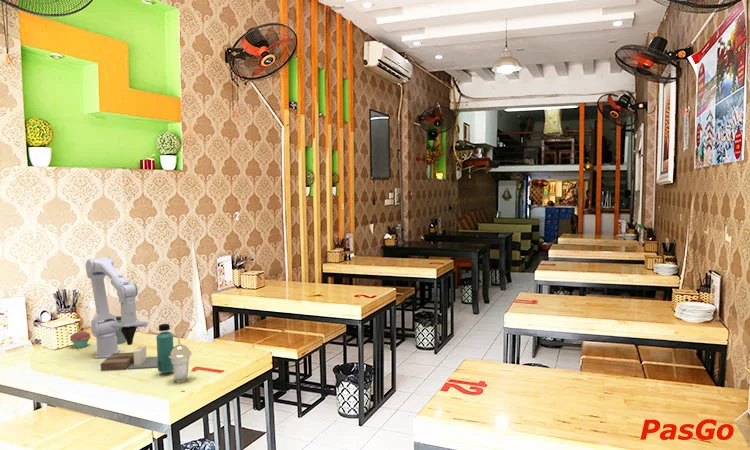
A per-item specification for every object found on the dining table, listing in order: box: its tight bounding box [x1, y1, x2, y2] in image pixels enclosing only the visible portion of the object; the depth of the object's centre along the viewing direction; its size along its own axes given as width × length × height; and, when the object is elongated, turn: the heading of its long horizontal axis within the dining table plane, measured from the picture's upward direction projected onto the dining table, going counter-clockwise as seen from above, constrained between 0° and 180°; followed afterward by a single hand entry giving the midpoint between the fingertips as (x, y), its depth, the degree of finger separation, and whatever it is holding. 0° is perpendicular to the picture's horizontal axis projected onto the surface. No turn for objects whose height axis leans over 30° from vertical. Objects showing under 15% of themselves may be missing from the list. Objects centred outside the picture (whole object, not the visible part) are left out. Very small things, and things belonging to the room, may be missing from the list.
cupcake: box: [69, 323, 91, 349], centre depth 251 cm, size 9×8×12 cm
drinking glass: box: [103, 315, 127, 346], centre depth 256 cm, size 10×10×12 cm
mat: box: [127, 356, 158, 370], centre depth 224 cm, size 14×12×1 cm
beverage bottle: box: [155, 323, 174, 373], centre depth 210 cm, size 6×7×20 cm
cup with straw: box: [168, 328, 193, 383], centre depth 202 cm, size 8×9×20 cm
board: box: [100, 351, 134, 372], centre depth 222 cm, size 14×10×3 cm
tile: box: [133, 345, 147, 365], centre depth 223 cm, size 8×6×2 cm
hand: (130, 344), depth 223 cm, fingers closed
